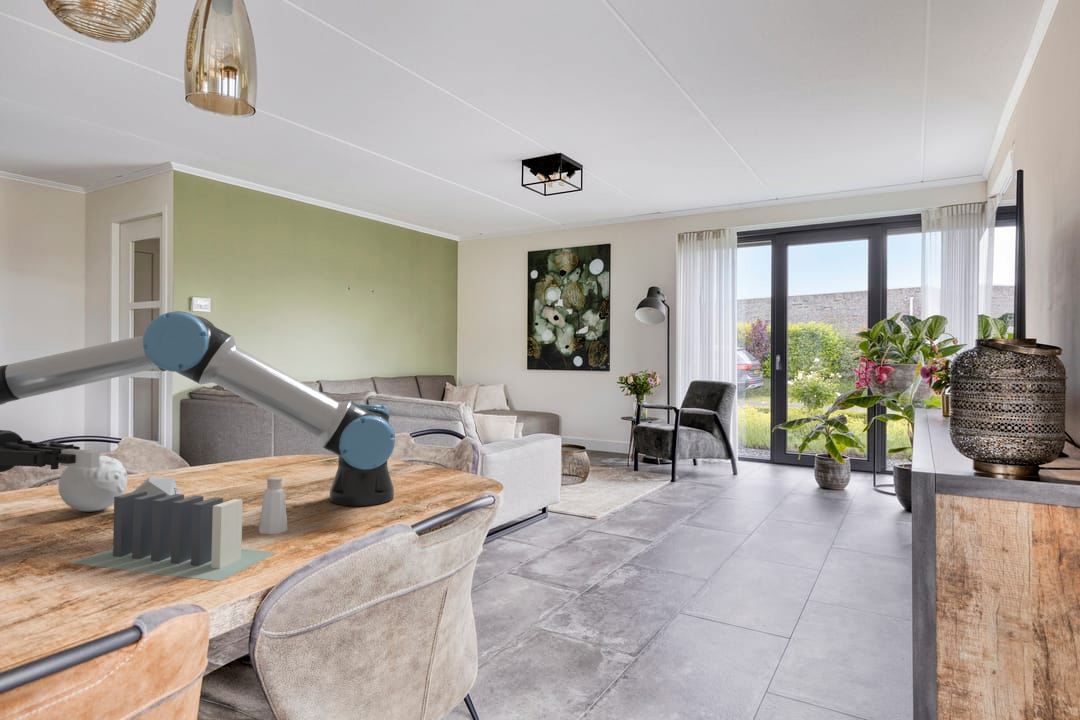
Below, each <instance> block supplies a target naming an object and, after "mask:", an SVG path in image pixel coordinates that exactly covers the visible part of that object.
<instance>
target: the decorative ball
mask: <svg viewBox="0 0 1080 720" xmlns="http://www.w3.org/2000/svg"><path fill="white" fill-rule="evenodd" d="M127 485H128V473H127V469H126V468H125V467H124V466H123V463H122V462H121V461H120V460H119V459H116V458H114V457H112V456H111V457H110V456H107V455H100V458H99V467H95V468H84V467H73V466H66V468H65V469H64V471H63V472H62V474H61V475H60V478H59V481H58V493H59V496H60V498H61V500H62V501H63V502H64V504H66V505H67V506H68V507H70V508H72V509H74V510H76V511H80V512H84V513H85V512H86V513H87V512H88V513H89V512H91V513H92V512H98V511H102V510H105V509H108V508H109V507H111V506H112V505H113V506H114V497H116V496H120V495H124V494H125V492H126V490H127Z"/></svg>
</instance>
